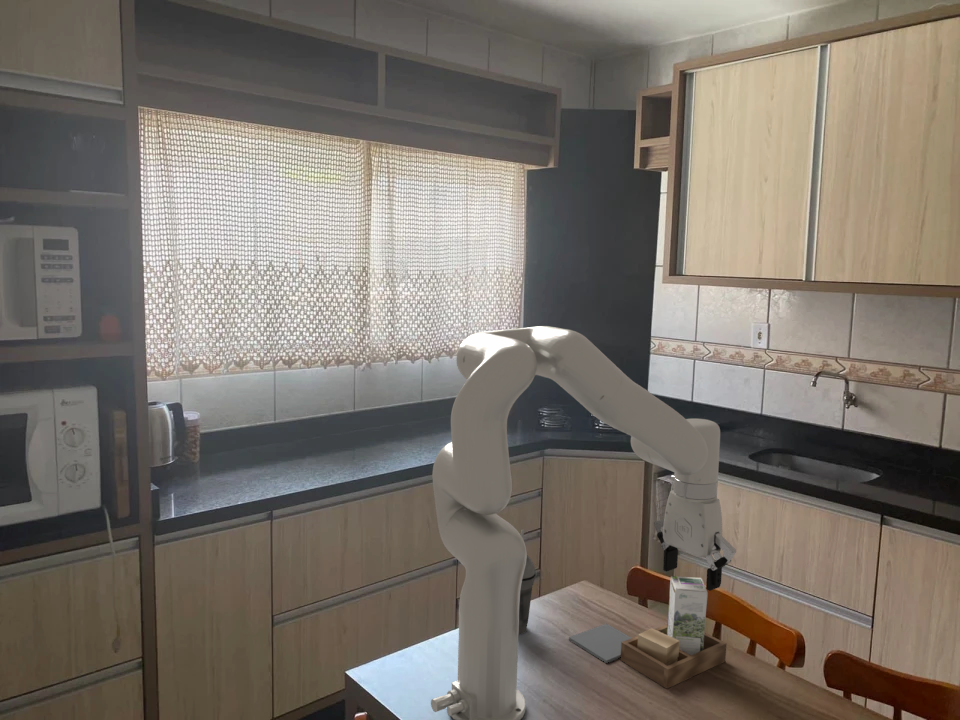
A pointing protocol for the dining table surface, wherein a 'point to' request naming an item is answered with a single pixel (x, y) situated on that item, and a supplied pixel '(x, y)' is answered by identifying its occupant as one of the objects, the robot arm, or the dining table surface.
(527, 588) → the beverage cup
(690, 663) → the divided wooden tray
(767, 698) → the dining table surface
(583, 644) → the plate
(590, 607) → the dining table surface
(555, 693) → the dining table surface
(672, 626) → the syrup box
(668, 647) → the offcut upper
